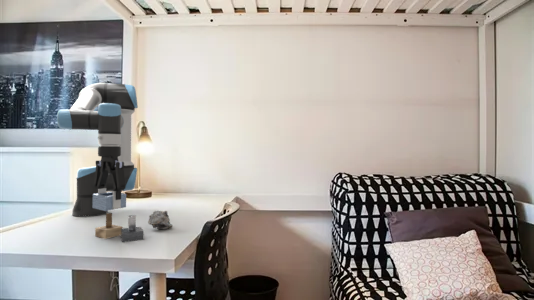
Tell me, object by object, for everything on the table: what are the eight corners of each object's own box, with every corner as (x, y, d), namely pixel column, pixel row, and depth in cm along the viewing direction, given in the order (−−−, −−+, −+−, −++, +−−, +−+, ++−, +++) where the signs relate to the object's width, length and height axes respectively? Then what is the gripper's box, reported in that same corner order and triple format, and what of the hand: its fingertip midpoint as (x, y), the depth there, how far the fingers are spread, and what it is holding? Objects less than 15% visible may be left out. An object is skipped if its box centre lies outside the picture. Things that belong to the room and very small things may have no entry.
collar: (92, 207, 112) (92, 194, 112) (112, 204, 119) (113, 191, 119) (105, 211, 108) (105, 197, 108) (126, 207, 115) (126, 193, 115)
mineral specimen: (167, 241, 123) (146, 232, 125) (178, 224, 129) (157, 216, 130) (164, 228, 116) (141, 220, 118) (175, 211, 122) (153, 203, 124)
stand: (95, 236, 111) (95, 214, 111) (111, 232, 117) (111, 211, 117) (105, 238, 108) (105, 216, 108) (122, 234, 114) (122, 213, 114)
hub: (120, 237, 110) (120, 215, 110) (140, 234, 114) (141, 213, 114) (122, 242, 105) (122, 218, 105) (143, 239, 108) (143, 216, 108)
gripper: (83, 145, 115) (82, 205, 115) (117, 146, 104) (117, 212, 105) (102, 145, 121) (102, 202, 122) (136, 146, 111) (136, 208, 111)
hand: (109, 207), depth 113 cm, fingers closed on collar, 8 cm apart
